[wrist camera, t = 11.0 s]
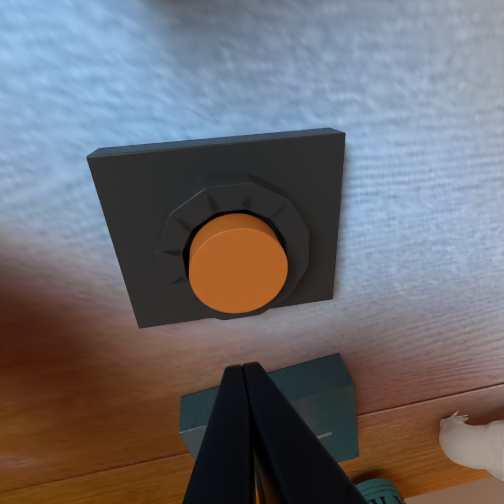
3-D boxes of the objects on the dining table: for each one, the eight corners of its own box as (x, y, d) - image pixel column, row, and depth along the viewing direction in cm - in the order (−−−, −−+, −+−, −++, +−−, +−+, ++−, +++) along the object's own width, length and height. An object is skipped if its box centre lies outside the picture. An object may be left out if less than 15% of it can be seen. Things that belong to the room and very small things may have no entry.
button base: (143, 308, 20) (132, 354, 17) (97, 148, 15) (69, 166, 12) (321, 282, 22) (346, 320, 18) (330, 127, 17) (366, 138, 13)
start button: (196, 297, 16) (197, 320, 15) (182, 219, 14) (181, 235, 13) (279, 286, 17) (288, 306, 15) (278, 207, 15) (287, 222, 13)
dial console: (213, 462, 30) (215, 501, 27) (180, 396, 25) (178, 435, 22) (344, 424, 30) (360, 458, 27) (338, 352, 25) (356, 385, 22)
